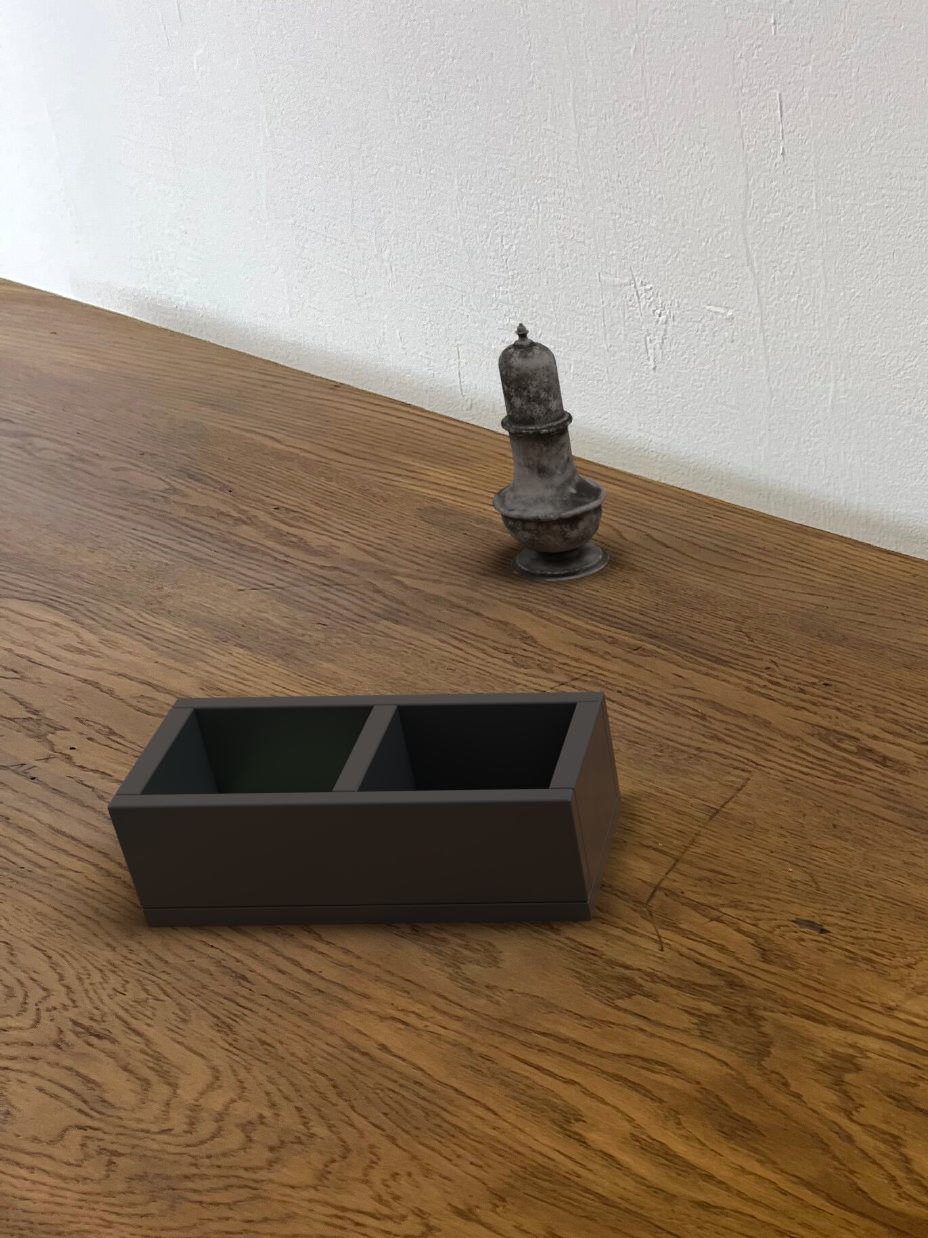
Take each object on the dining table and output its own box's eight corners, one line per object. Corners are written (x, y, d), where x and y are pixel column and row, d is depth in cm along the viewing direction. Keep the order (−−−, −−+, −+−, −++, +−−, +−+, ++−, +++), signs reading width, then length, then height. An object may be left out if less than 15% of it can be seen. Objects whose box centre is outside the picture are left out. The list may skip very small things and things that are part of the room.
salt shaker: (491, 555, 111) (446, 316, 103) (595, 534, 113) (559, 298, 105) (523, 594, 108) (479, 348, 99) (630, 572, 109) (596, 330, 101)
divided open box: (592, 924, 84) (570, 799, 80) (148, 930, 84) (105, 806, 80) (623, 810, 91) (604, 690, 87) (213, 816, 91) (177, 697, 87)
